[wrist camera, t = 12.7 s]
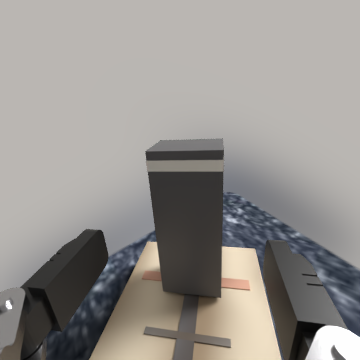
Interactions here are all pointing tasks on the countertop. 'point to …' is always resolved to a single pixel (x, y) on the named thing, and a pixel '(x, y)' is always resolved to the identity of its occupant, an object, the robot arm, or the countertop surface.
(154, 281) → the fader console
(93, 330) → the countertop surface
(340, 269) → the countertop surface
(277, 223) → the countertop surface
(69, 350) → the countertop surface
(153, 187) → the fader cap
